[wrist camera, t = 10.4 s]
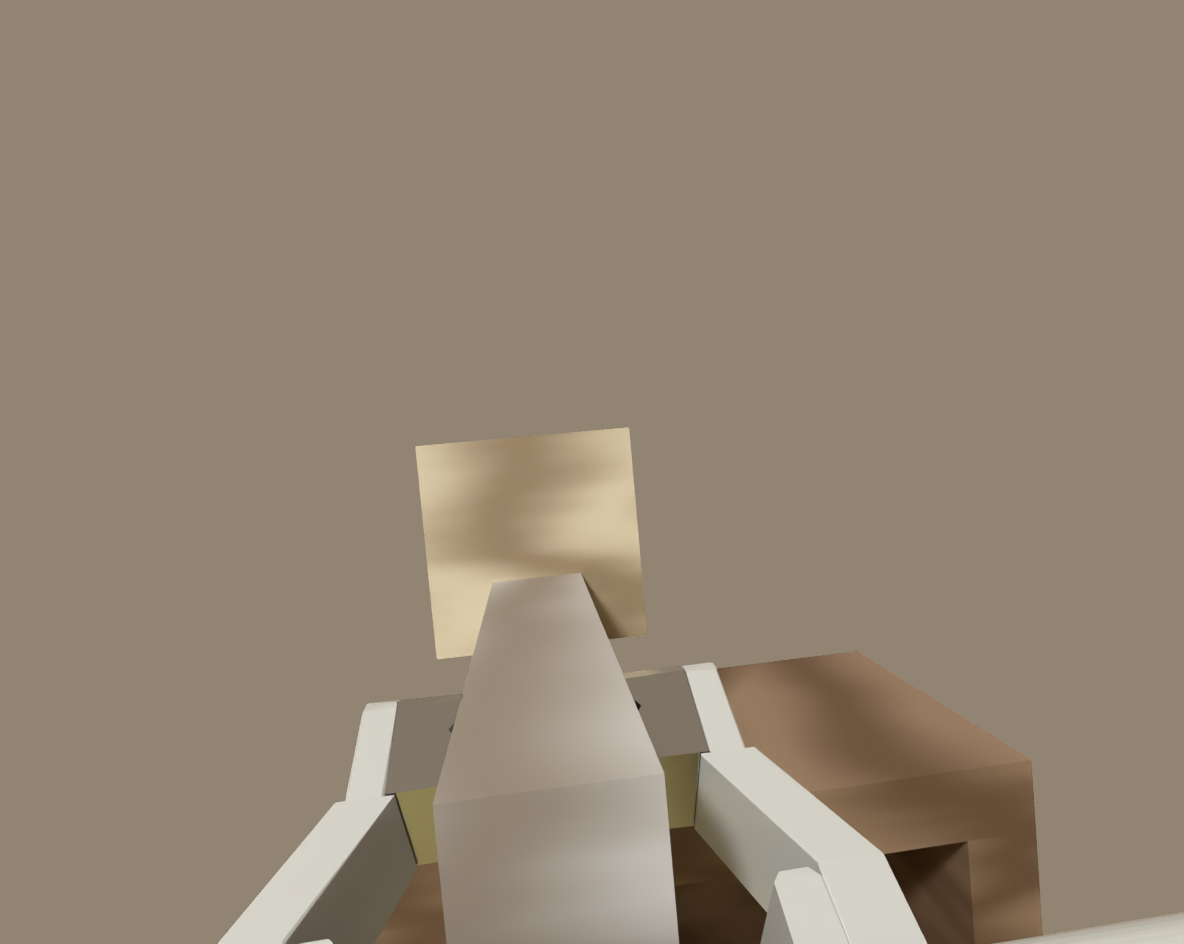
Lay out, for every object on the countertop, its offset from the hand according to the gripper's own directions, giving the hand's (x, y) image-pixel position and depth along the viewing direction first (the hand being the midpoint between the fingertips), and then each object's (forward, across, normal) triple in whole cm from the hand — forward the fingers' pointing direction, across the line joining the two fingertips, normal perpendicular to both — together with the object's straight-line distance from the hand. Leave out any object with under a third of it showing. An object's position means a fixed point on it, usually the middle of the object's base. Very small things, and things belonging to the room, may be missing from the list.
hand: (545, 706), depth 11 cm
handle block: (+4, 0, +4) cm, 5 cm away
